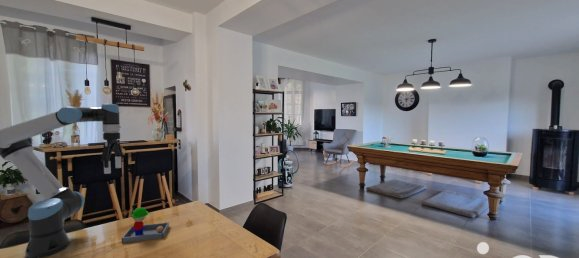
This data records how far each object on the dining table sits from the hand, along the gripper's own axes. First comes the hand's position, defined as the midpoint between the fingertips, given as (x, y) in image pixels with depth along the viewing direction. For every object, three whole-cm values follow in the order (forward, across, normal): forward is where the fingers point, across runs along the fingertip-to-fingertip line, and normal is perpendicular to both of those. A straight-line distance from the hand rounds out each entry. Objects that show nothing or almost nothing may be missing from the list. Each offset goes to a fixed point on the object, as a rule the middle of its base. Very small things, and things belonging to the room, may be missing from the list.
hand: (113, 170), depth 133 cm
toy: (+34, -9, -15) cm, 39 cm away
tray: (+35, -9, -18) cm, 40 cm away
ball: (+34, -9, -24) cm, 43 cm away
